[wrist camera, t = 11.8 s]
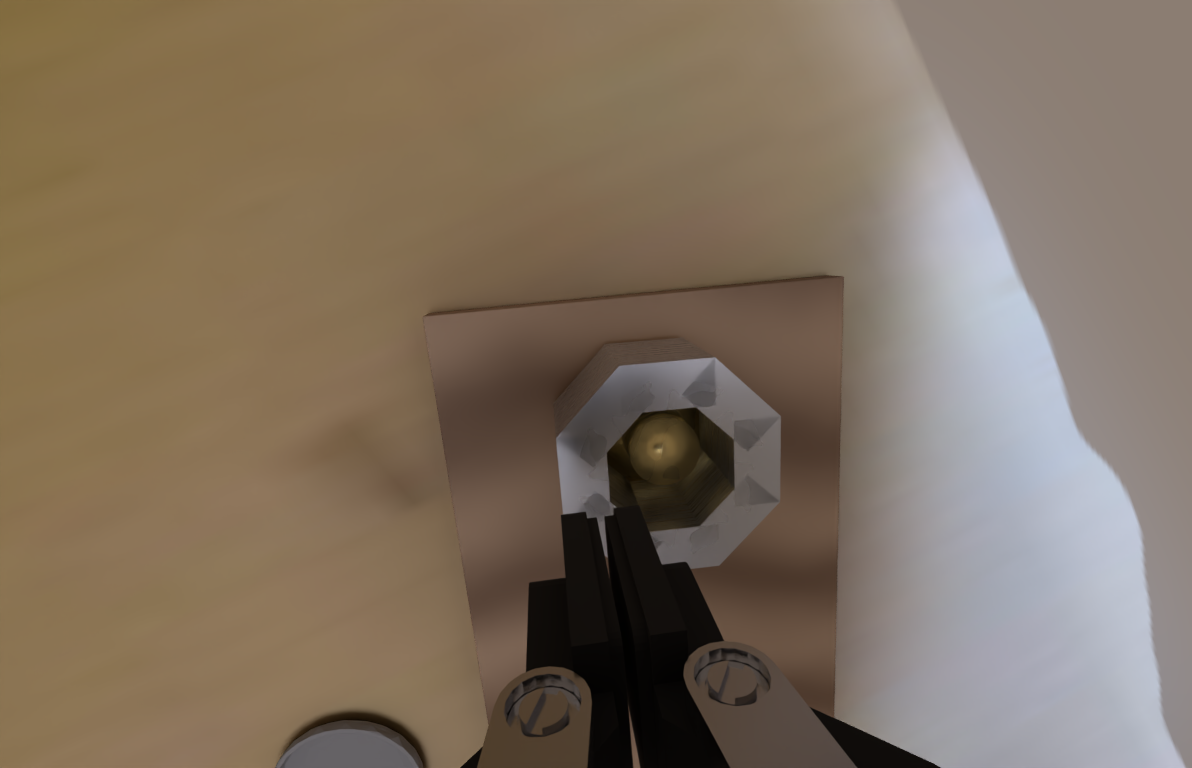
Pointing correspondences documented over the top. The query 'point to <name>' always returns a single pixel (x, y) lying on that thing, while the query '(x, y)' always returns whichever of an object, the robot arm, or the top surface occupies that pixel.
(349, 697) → the top surface
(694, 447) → the brass hub
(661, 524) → the steel ring
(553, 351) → the walnut board
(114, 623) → the top surface
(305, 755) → the pocket watch
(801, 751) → the robot arm
